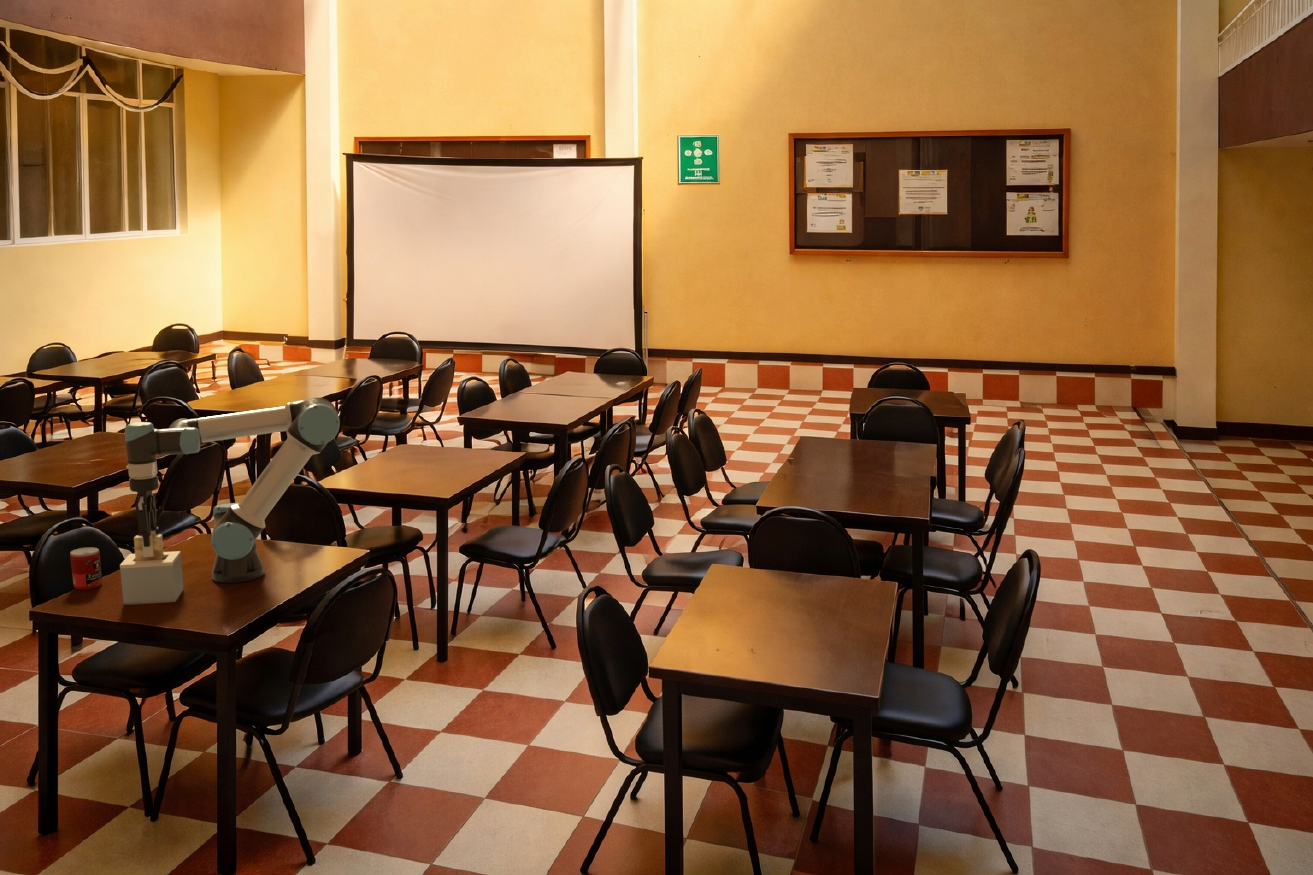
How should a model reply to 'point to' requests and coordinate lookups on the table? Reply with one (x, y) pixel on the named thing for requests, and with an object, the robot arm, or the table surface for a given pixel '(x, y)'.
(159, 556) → the block
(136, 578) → the box
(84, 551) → the canned food
